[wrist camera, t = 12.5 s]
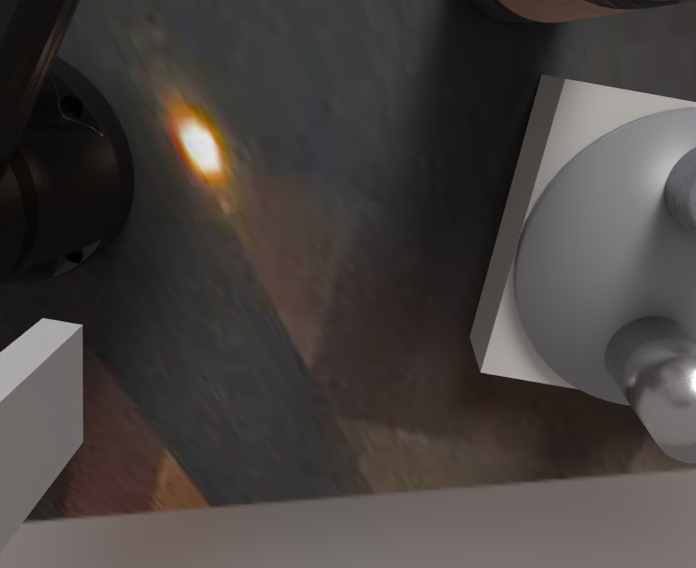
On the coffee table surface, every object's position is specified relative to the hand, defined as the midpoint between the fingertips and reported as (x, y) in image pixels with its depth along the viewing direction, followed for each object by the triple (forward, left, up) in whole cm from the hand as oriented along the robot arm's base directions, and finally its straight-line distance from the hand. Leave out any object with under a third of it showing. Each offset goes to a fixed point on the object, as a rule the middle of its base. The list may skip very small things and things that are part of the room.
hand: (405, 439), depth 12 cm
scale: (+18, -2, -29) cm, 34 cm away
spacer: (+17, -7, -23) cm, 29 cm away
